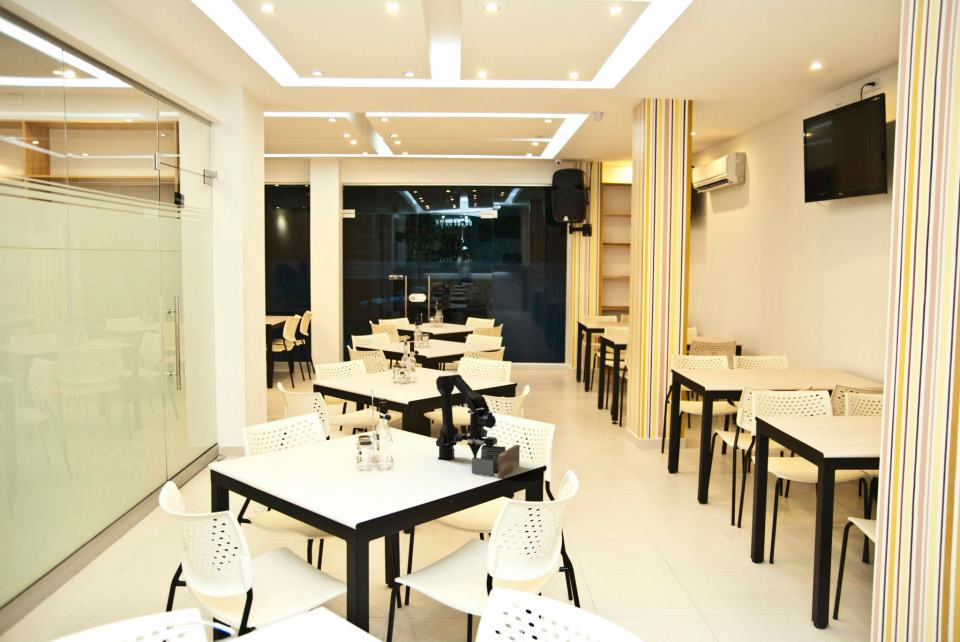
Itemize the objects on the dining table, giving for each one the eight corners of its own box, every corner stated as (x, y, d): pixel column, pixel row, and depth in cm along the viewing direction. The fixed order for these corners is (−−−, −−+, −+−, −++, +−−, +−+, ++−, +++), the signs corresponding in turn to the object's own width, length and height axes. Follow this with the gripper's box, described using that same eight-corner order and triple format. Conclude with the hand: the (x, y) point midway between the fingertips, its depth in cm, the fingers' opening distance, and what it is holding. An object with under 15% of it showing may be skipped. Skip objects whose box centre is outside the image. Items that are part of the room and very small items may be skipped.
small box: (504, 469, 314) (506, 446, 313) (503, 473, 307) (504, 449, 307) (481, 466, 315) (483, 444, 314) (479, 470, 309) (481, 447, 308)
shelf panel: (497, 478, 299) (498, 455, 298) (515, 466, 319) (515, 444, 319) (502, 478, 298) (502, 455, 297) (519, 466, 318) (519, 445, 318)
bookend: (471, 473, 305) (472, 458, 305) (472, 473, 307) (473, 457, 306) (493, 476, 302) (493, 460, 301) (494, 475, 303) (494, 459, 302)
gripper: (502, 423, 317) (501, 456, 318) (464, 418, 325) (463, 451, 326) (493, 427, 307) (491, 462, 308) (454, 423, 314) (453, 457, 315)
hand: (475, 458), depth 314 cm, fingers closed
